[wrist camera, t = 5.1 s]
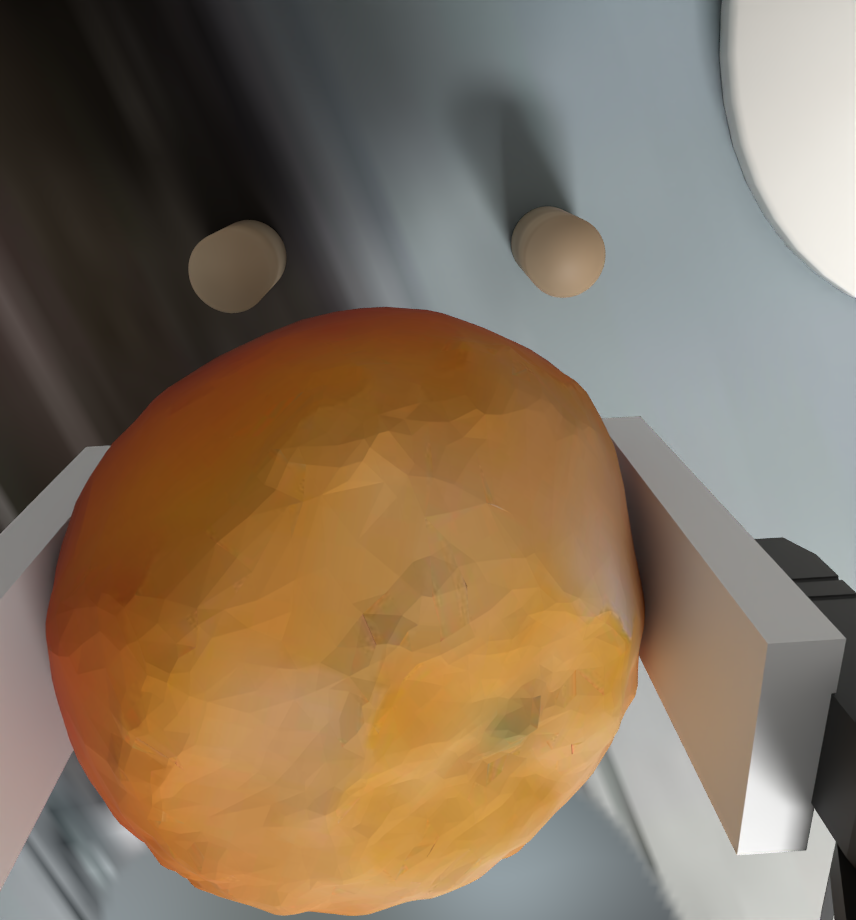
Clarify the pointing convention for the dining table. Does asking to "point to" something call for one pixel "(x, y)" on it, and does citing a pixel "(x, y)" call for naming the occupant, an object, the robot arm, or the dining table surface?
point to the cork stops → (264, 258)
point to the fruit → (349, 612)
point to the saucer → (797, 122)
